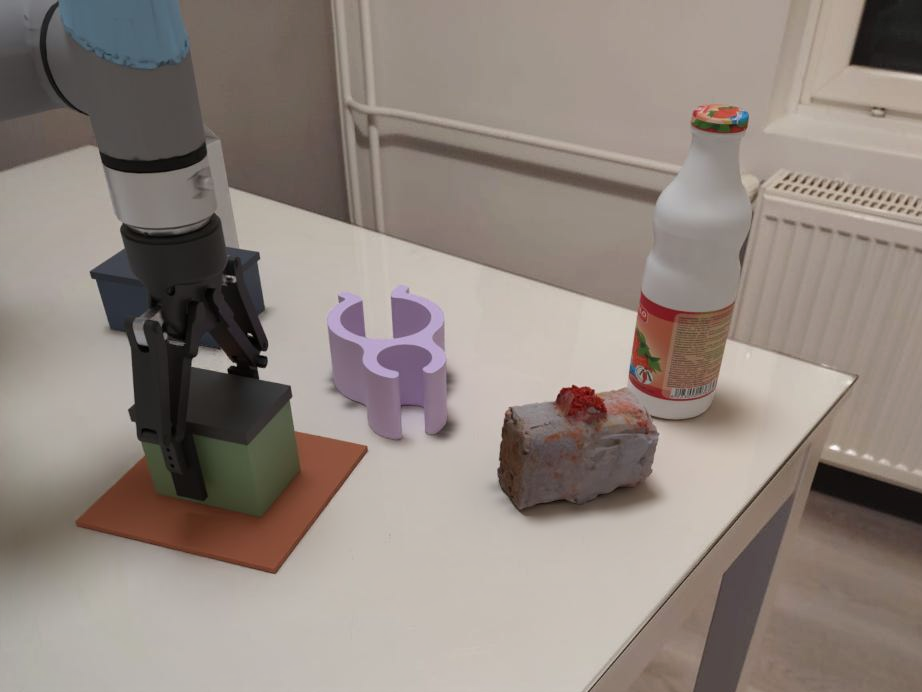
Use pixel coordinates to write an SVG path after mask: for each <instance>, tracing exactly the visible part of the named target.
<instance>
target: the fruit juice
mask: <svg viewBox="0 0 922 692" xmlns="http://www.w3.org/2000/svg"><path fill="white" fill-rule="evenodd" d="M749 116H750V115H749V112H748V111H746V110H745V109H743V108H740V107H738V106H734V105H729V104H718V103H717V104H716V103H715V104H714V103H713V104H712V103H711V104H704V105H699V106H696V107H695V108H694V109H693V112H692V114H691V118H690V127H689V130H690V133H691V134H692V135H691V140H690V141H691V142H690V146H689V148H688V152H687V155H686V157H685V159H684V161H683V163H682V166H681V167H680V169H679V171H678V173H677V175H676V176H675V178H674V179H673V180H672V181H671V182H670V183H669V184H668V185H667V186H666V187H665V188H664V189H663V190H662V192H661V193H660V195H659V196H658V198H657V200H656V202H655V204H654V209H653V214H652V231H653V246H652V248H651V250H650V252H649V253H648V255H647V258H646V261H645V263H644V269H643V273H642V278H641V285H640V293H639V300H638V305H637V306H638V307H637V314H636V320H635V328H634V333H633V334H634V335H633V341H632V348H631V355H630V362H629V369H628V375H627V382H626V383H627V384H626V387H627V388H628V389H629V390H630V391H631V392H633V394H635V395H636V396H637V398H638V399H639V400H640V402H641V403H642V404H643V406H644V407H645V408H646V409H647V411H648V413H649V414H650V416H651V417H655V418H659V419H665V420H686V419H691V418H696V417H698V416H700V415H702V414H703V413H705V412H706V411H707V410H708V409H709V408H710V406H711V405H712V403H713V400H714V397H715V394H716V389H717V385H718V380H719V376H720V371H721V367H722V363H723V358H724V353H725V350H726V344H727V339H728V335H729V331H730V328H731V327H730V326H731V322H732V317H733V314H734V309H735V305H736V300H737V296H738V293H739V285H740V281H741V271H742V269H741V262H740V252H741V249H742V248H743V245H744V243H745V242H746V239H747V237H748V234H749V232H750V229H751V226H752V225H751V224H752V218H753V208H752V202H751V199H750V197H749V195H748V193H747V191H746V189H745V187H744V184H743V181H742V177H741V167H740V149H741V148H740V147H741V141H742V139H743V138H744V137H745V135H746V134H747V129H748V127H749V119H750V117H749Z"/></svg>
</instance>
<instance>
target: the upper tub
mask: <svg viewBox="0 0 922 692" xmlns="http://www.w3.org/2000/svg"><path fill="white" fill-rule="evenodd" d="M292 399H293V390H292V385H289V384H286V383H285V384H284V383H280V382H275V381H269V380H263V379H260V378H259V379H254V378H249V377H243V376H238V375H233V374H228V372H221V371H218V370H211V369H205V368H200V367H197V366H191V376H190V386H189V397H188V407H187V417H186V428H185V432H186V433H191V434H193V438H194V442H195V446H196V450H197V454H198V458H199V462H200V466H201V470H202V474H203V478H204V482H205V486H206V490H207V494H208V497H207V499H206V500H205V501H204V502H203V501H199V500H195V499H190V498H186V497H181V496H177V493H176V490H175V486H174V483H173V479H172V476H171V472H170V471H168V469H167V468H166V465H165V461H164V457H163V454H162V451H161V447H160V445H156V444H151V443H147V442H142V441H140V444H141V446H142V450H143V453H144V456H145V457H146V460H147V464H148V467H149V470H150V474H151V477H152V480H153V484H154V487H155V490H156V493H157V494H160V495H165V496H169V497H174V498H178V499H182V500H187V501H191V502H196V503H200V504H205V505H209V506H213V507H218V508H222V509H227V510H231V511H235V512H240V513H244V514H249V515H253V516H257V517H262V516H263V515H264V514H265V513H266V511H267V510H268V509H269V508H270V506H271V505H272V504H273V503H274V502H275V500H276V499H277V498H278V497H279V495H280V494H281V493H282V492H283V491H284V489H285V488H286V487H287V486H288V485H289V483H290V482H291V481H292V480H293V478H294V477H295V476H296V475H297V474H298V472H299V471H300V470H301V468H300V462H299V456H298V449H297V443H296V436H295V431H296V430H295V424H294V418H293V411H292V404H291V400H292ZM127 412H128V415H129V419H130V422H132V423H135V424H136V418H135V403H133V404H132V405H131V406H130V407H129V408H128V409H127ZM171 425H172V423H171Z"/></svg>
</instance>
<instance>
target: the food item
mask: <svg viewBox="0 0 922 692" xmlns="http://www.w3.org/2000/svg"><path fill="white" fill-rule="evenodd" d="M659 436H660V432H659V431H658V429H657V426H656V425H655V424H654V420H653V418H652V415H650V414H649V413H648V411H647V409H646V408H645V407H644V406H643V404H642V403H641V402H640V400H639V399H638V398H637V396H636V395H635V394H633V392H631V391H630V390H629V389H628V388H627V386H625V387H622V388H619V389H612V390H609V391H600V392H596V389H594V388H591V387H590V386H587V385H584V386H580V387H579V386H578V385H575V384H571V387H570V386H568V387H562V388H560V390H559V392H558V394H557V395H556V399H555V400H552V401H543V402H534V403H528V404H527V403H525V404H523V405H514V406H508V409H507V410H506V411H505V412H504V417H503V425H502V427H501V434H500V437H501V441H500V444H499V455H498V461H499V467H497V469H496V471H497V478H498V481H499V483H500V484H499V485H500V486H501V488H502V489H503V490H504V491H505V492H506V494H507V495H508V497H509V498H510V499H511V500H512V502H513V504H514V505H515V506H516V508H517V509H518V510H519V511H521V510H523V509H526V508H530V507H531V508H532V507H533V506H536V505H538V504H548V503H550V502H554V501H558V500H566V501H568V502H571V503H574V504H577V505H578V504H579V505H580V504H581V505H583V504H586V502H588V501H591V500H594V499H596V498H597V497H598V495H606V494H609V493H611V492H613V491H614V490H615V489H617V488H621V487H623V488H624V487H628V488H633V487H635V485H637V484H638V483H639V482H641V483H645V481H646V480H647V479H648V478H649V477H651V475H652V473H653V468H652V467H653V464H654V460H655V453H656V451H657V446H658V444H659V443H658V442H659V440H660V438H659Z"/></svg>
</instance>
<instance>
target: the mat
mask: <svg viewBox="0 0 922 692" xmlns="http://www.w3.org/2000/svg"><path fill="white" fill-rule="evenodd" d="M295 436H296V443H297V449H298V456H299V462H300V468H301V470H300V471H299V472H298V474H297V475H296V476H295V477H294V478H293V480H292V481H291V482H290V483H289V485H288V486H287V487H286V488H285V489H284V491H283V492H282V493H281V494H280V495H279V497H278V498H277V499H276V500H275V502H274V503H273V504H272V505H271V506H270V508H269V509H268V510H267V511H266V513H265V514H264V515H263V516H262V517H257V516H253V515H249V514H244V513H240V512H235V511H231V510H227V509H222V508H218V507H213V506H209V505H205V504H200V503H196V502H191V501H187V500H182V499H178V498H174V497H169V496H165V495H160V494H157V493H156V490H155V487H154V484H153V480H152V477H151V474H150V470H149V467H148V464H147V460H146V457H145V455H143V456H142V457H141V458H140V459H139V460H138V461H137V462H136V463H135V464H134V465H133V466H132V467H131V468H130V469H129V470H128V471H127V472H126V473H124V475H122V476H121V477H120V478H119V479H118V480H117V481H116V482H115V483H114V484H112V486H110V488H109V489H108V490H107V491H106V492H104V493H103V495H101V496H100V497H99V498H98V499H97V500H96V501H95V502H94V503H93V504H92V505H91V506H89V508H87V510H86V511H84V512H83V513H82V514H81V515H80V516H79V517H78V518H77V519H76V520H75V521H74V522H75V524H76V526H78V527H82V528H85V529H90V530H93V531H99V532H102V533H107V534H111V535H114V536H119V537H123V538H127V539H132V540H136V541H140V542H144V543H147V544H153V545H156V546H161V547H165V548H169V549H173V550H178V551H182V552H185V553H189V554H193V555H198V556H202V557H206V558H211V559H215V560H218V561H223V562H227V563H232V564H235V565H240V566H243V567H248V568H251V569H256V570H259V571H264V572H268V573H273V574H276V573H277V571H278V570H279V569H280V567H282V565H283V564H284V562H285V561H286V560H287V559H288V557H289V556H290V554H291V553H292V552H293V550H294V549H295V547H296V546H297V545H298V544H299V542H300V541H301V539H303V537H304V536H305V534H306V533H307V532H308V530H309V529H310V528H311V526H312V525H313V523H314V522H315V521H316V520H317V519H318V517H319V515H320V514H321V513H322V511H323V510H324V509H325V508H326V507H327V505H328V504H329V502H330V501H331V499H332V498H333V497H334V495H336V493H337V491H338V490H339V489H340V488H341V486H342V485H343V484H344V482H345V481H346V479H347V478H348V477H349V475H350V474H351V473H352V472H353V470H354V469H355V467H356V466H357V465H358V463H359V462H360V461H361V460H362V458H363V457H364V455H365V454H366V453H367V452H368V449H369V448H368V447H369V446H368V445H366V444H361V443H356V442H351V441H347V440H341V439H336V438H332V437H326V436H321V435H317V434H316V435H315V434H312V433H306V432H303V431H297V430H295Z"/></svg>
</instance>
